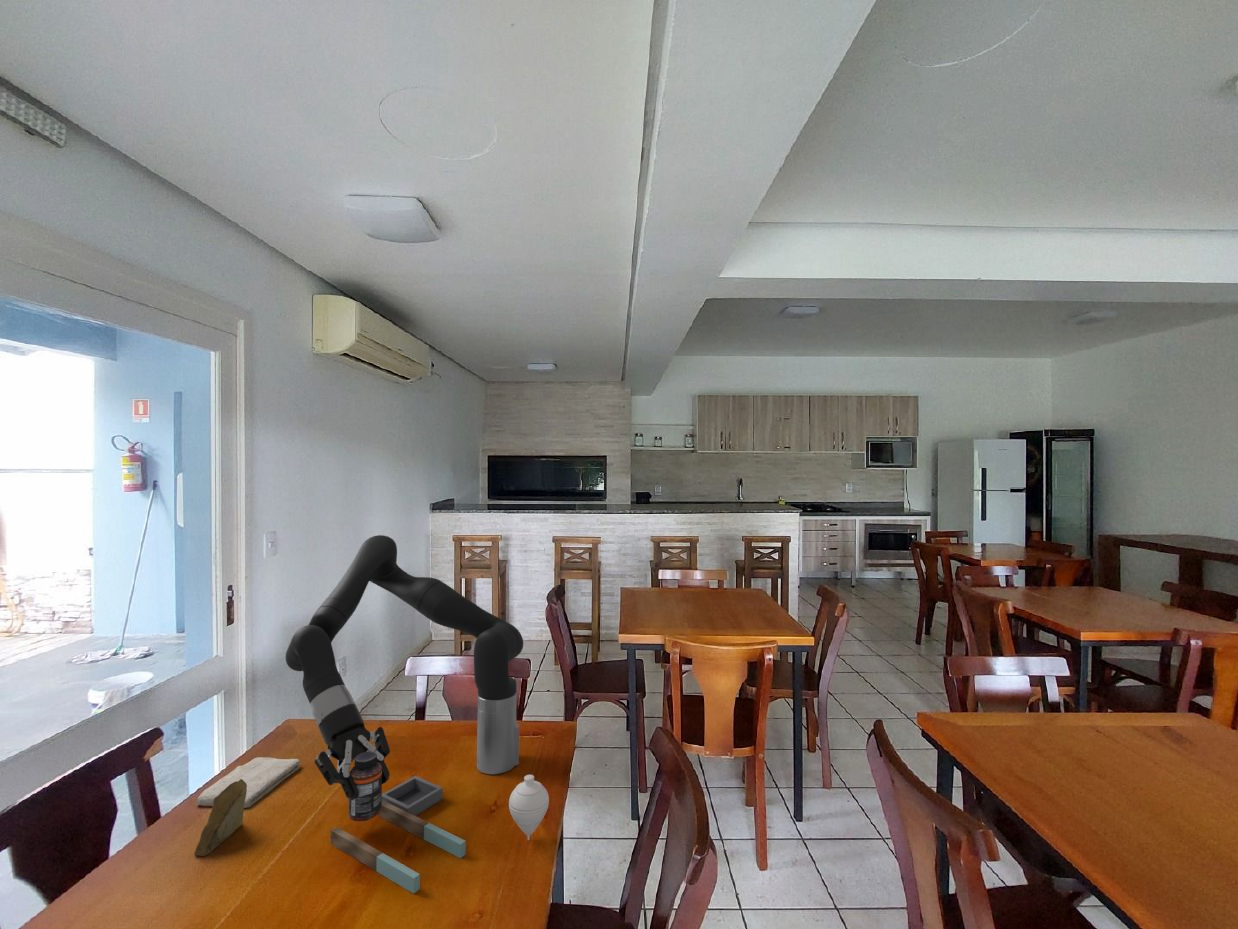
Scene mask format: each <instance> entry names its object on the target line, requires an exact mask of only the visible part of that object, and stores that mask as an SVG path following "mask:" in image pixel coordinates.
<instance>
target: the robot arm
mask: <svg viewBox="0 0 1238 929" xmlns="http://www.w3.org/2000/svg"><path fill="white" fill-rule="evenodd" d="M397 559H398V547H397V543H396V541H395V540H394V539H393V538H391V537H389V536H387V535H384V534H383V535H380V534H379V535H373V536H371V537H369V538H367V539H366V540H365V541H364V542H363V543H362V544H361V546H360V547H359V549H358V551H357V553H356V555H355V556H354V558H353V560H352V562H351V564H350V565H349V567H348V568H347V570H346V572H345V573H344V574H343V576H342V578H341V579H340V580H339V582H338V583H337V585H336V586H335V587H334V589H333V590H332V591H331V592H330V593H329V595H328V596H327V597H326V599H325V600H324V601H323V602H322V603H321V605H320V606H318V608H317V609H316V611H315V612H314V613H313V615H312V618H311V619H310V621H309V622H308V624H307V625H304V626H302V627H300V628H299V629H297V631H296V632H295V633H294V635H293V636H292V638H291V640H290V643H289V645H288V647H287V650H286V652H285V662H286V665H287V667H288V668H289V669H290V670H293V671H295V672H303V677H302V678H303V679H302V687H303V691H304V693H305V695H306V698H307V700H308V703H309V705H310V709H311V712H312V716H313V717H314V720H315V722H316V724H317V727H318V729H319V732H320V734H321V737H322V739H323V741H324V744H325V745H327V749H326V750H325V751H324V750H323V751H320V753H319V754H318V755H317V756H316V757H315V759H314V763H315V765H316V767H317V768H318V770H319V772H320V773H321V775H322V777H323V779H324V780H325V781H326V783H327V785H329V786H332V785H334V784H340V785H341V788H342V790H343V792H344V795H345V797H346V798H347V800H349V798H350V800H354V799H356V797H357V796H358V795H359V791H358V789H357V787H356V784H355V782H354V780H353V778H352V776H351V777H350V776H349V775H350V771H351V769H350V768H351V764H352V762H354V761H355V757H356V756H357V755H359V754H360V753H363V752H375V753H376V754H377V762H378V763H380V764H381V766H382V785H384V784H385V783H387V782H388V781H389V780H390V775H391V773H390V771H389V769H388V766H387V764H386V763H385V759H386V758H387V757H388V755H389V754H390V753H391V749H390V746H389V744H388V740H387V737H386V734H385V731H384V728H383V727H382V726H379V727H377V729H376V730H372V731H369V730H368V729H367V728H366V727H365V723H364V720H363V717H362V715H361V713H360V711H359V708H358V707H357V704H356V703H355V700H354V698H353V696H352V694H351V693H350V691H349V689H348V688H347V686H346V684H345V682H344V680H343V678H342V676H341V674H340V672H339V670H338V668H337V664H336V658H335V657H336V656H335V654H334V649H333V645H332V642H333V640H334V639H335V637H336V636H337V635H338V633H339V632H340V631H341V630H342V628H343V627H345V625H346V623H348V621H349V620H350V619H351V617H352V616H353V614H354V612H355V611H356V609H357V608H358V606H359V604H360V601H361V600H362V598H363V596H364V594H365V590H366V589H367V586H368V585H369V582H370V583H372V584H375V585H376V586H378V587H380V588H382V589H384V590H385V591H387V592H389V593H391V594H393V595H395V596H396V597H397V598H399V599H400V600H402V601H403V602H404V603H406V604H408V605H409V606H410V607H412V608H413V609H414V610H416V611H417V612H419V613H420V614H421V615H423V617H425V618H427V619H429V621H431V622H433V623H435V624H437V625H440V626H443V627H446V628H449V629H453V630H457V631H461V632H463V633H467V634H469V635H471V636H473V637H474V638H476V640H475V642H474V647H473V668H474V669H473V671H474V683H475V686H476V688H477V725H476V726H477V727H476V728H477V730H476V731H477V732H476V734H477V735H476V738H477V739H476V769H477V770H478V771H479V772H480V773H483V774H486V775H499V774H504V773H506V772H509V771H510V770H513V768H515V766H519V764H520V759H519V758H520V724H519V723H518V722H517V690H518V689H517V688H518V687H517V681H516V679H515V678H514V677H512V676H509V675H510V674H509V673H510V671H509V662H511V661H513V660H514V659H515V658H517V657H518V656H519V655H520V654H521V652H522V651H523V649H524V639H523V635H522V634H521V632H520V630H519V629H518V628H517V627H516V626H514V625H513V624H511V623H510V622H508V621H506V620H504V619H502V618H500V617H497V616H496V615H495V614H492V613H490V612H488V611H487V610H485V609H483V608H482V607H480V606H479V605H478V604H476V603H474V602H473V601H471V600H470V599H468V598H467V597H465V596H464V595H462V594H460V593H459V592H458V591H456V589H454V588H452V587H451V586H450V585H448V584H446V583H445V582H443V581H442V580H439V579H438V578H435V577H428V576H427V577H426V576H425V577H424V576H423V577H422V576H413V575H411V574H409V573H408V572H406V571H405V570H404V569H402V568H401V567H400V566H399V565H398V564H397V561H398V560H397ZM370 740H371V741H370ZM372 743H374V745H375V746H374V745H373V744H372ZM332 758H333V759H335V760H337V768H336V766H335V765H334V763H333V762H332Z"/></svg>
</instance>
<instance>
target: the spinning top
mask: <svg viewBox="0 0 1238 929" xmlns="http://www.w3.org/2000/svg"><path fill="white" fill-rule="evenodd" d="M523 779H524V781H521V782H520V783H518V784H517V785H516V787H515V788H514V789H513V791H512V792H511V794H510V796H509V800H508V810H509V812H510V815H511V817H512V819H513V821H514V822H515V824H516V825H517V826H518V827H519V829H520V830H521V831H522V833H523V834H524V835H526V837H527V840H528V841H530V837H531V835H532V834H533V833H534V832H535V831H536V830H537V828H538V827H539V825H540V824H541V823H542V821H543V819H544V817H545V815H546V814H547V810H548V808H549V805H550V804H549V802H550V796H549V792H548V791H547V788H545V786H544V785H543V784H542V783H541V782H539V781H537V780H535V776H534V774H526V775H524V777H523Z"/></svg>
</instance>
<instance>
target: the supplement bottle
mask: <svg viewBox="0 0 1238 929" xmlns="http://www.w3.org/2000/svg"><path fill="white" fill-rule="evenodd" d="M353 764H354V765H353V767H352V768H351V769H350V775H349V776H350V777H351V776H352V778H353V780H354V782H355V784H356V787H357V789H358V791H359V795H358V796H357V797H356V799H354V800H350V798H349V799H348V817H349V819H350V820H351V821H354V822H366V821H369V820H371V819H373V818H375V817H376V816H378V814H379V812H380V811H381V805H382V794H383V784H382V766H381V764H380V763H378V762H377V754H376V753H375V752H368V751H367V752H363V753H360V754H359V755H357V756H356V757H355V760H354V763H353Z"/></svg>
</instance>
